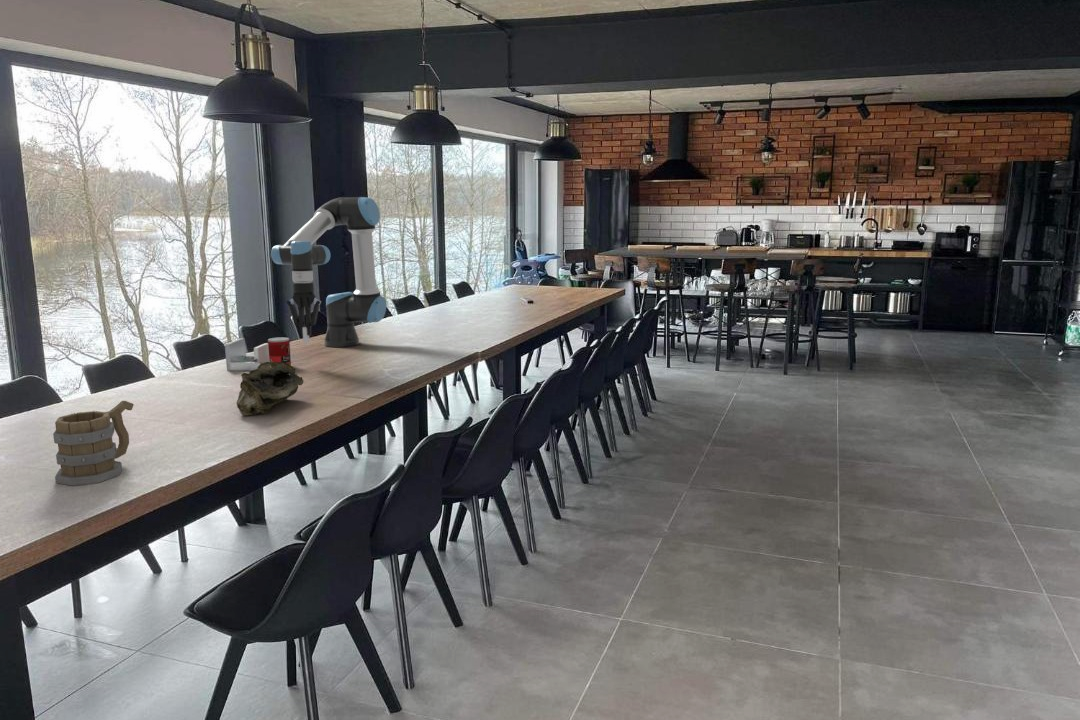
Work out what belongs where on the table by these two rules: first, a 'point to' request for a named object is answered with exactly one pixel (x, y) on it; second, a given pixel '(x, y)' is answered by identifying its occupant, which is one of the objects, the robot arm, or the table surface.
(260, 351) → the white flat block
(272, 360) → the canned food
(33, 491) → the table surface
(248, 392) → the hollow geode rock
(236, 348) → the frame
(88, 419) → the tankard
